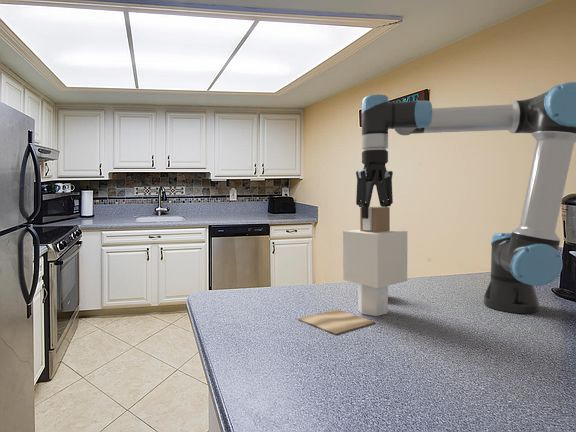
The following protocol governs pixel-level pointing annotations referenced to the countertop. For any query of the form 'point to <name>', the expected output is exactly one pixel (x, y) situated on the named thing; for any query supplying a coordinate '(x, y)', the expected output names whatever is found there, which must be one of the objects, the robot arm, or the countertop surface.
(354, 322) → the plate
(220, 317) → the countertop surface
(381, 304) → the jar
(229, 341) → the countertop surface
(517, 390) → the countertop surface
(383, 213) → the cover
